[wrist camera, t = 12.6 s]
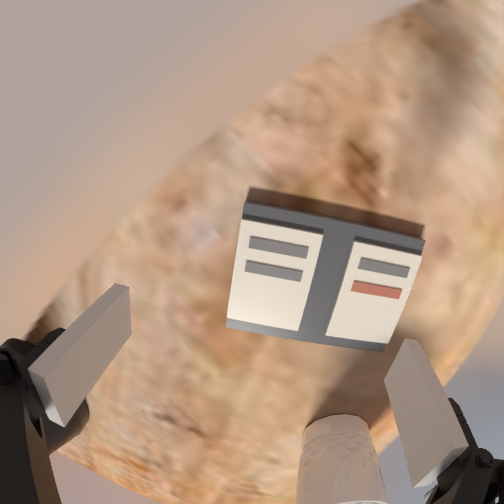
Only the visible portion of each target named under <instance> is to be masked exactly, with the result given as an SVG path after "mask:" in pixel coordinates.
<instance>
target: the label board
mask: <svg viewBox="0 0 504 504" xmlns="http://www.w3.org/2000/svg"><path fill="white" fill-rule="evenodd" d="M424 244H425V240H423V239H422V238H421V237H417V236H413V235H409V234H405V233H401V232H397V231H393V230H389V229H385V228H380V227H376V226H372V225H367V224H363V223H358V222H354V221H349V220H345V219H340V218H336V217H331V216H326V215H321V214H317V213H312V212H307V211H302V210H297V209H292V208H286V207H281V206H276V205H270V204H265V203H260V202H254V201H248V200H246V201H245V202H244V209H243V215H242V219H241V225H240V231H239V238H238V244H237V251H236V257H235V264H234V271H233V277H232V284H231V291H230V298H229V305H228V312H227V322H226V327H229V328H234V329H238V330H243V331H249V332H254V333H259V334H264V335H270V336H275V337H281V338H287V339H293V340H299V341H305V342H312V343H318V344H325V345H332V346H339V347H347V348H355V349H363V350H371V351H381V352H382V351H383V349H384V347H385V345H386V344H388V343H389V341H390V339H391V336H392V334H393V332H394V330H395V327H396V325H397V323H398V320H399V318H400V316H401V313H402V311H403V308H404V306H405V303H406V301H407V298H408V296H409V293H410V291H411V288H412V285H413V283H414V280H415V277H416V274H417V271H418V269H419V266H420V263H421V260H422V256H421V253H422V250H423V247H424Z"/></svg>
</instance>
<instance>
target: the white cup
mask: <svg viewBox="0 0 504 504" xmlns="http://www.w3.org/2000/svg"><path fill="white" fill-rule="evenodd" d="M295 504H388V499H387V495H386V490H385V486H384V481H383V477H382V473H381V468H380V465H379V460H378V457H377V453H376V450H375V446H374V445H373V443H372V439H371V436H370V432H369V428H368V424H367V422H366V421H364V420H363V419H362V418H360V417H359V416H354V415H349V414H340V415H330V416H327V417H324V418H322V419H319V420H316V421H315V422H313V423H312V424H311V425H309V426H308V427H307V428H306V429H305V431H304V434H303V436H302V446H301V455H300V461H299V471H298V481H297V492H296V503H295Z"/></svg>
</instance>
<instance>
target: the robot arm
mask: <svg viewBox="0 0 504 504" xmlns="http://www.w3.org/2000/svg"><path fill="white" fill-rule="evenodd" d="M130 335H131V319H130V298H129V287H127V286H124V285H120V284H116V283H115V284H114V285H113V286H112V287H111V288H110V289H109V290H107V291H106V292H105V293H104V294H103V295H102V296H101V297H100V298H99V299H98V300H97V301H96V302H94V303H93V304H92V305H91V306H90V307H89V308H88V309H87V310H86V311H85V312H84V313H83V314H82V315H81V316H80V317H79V318H78V319H77V320H76V321H74V322H73V323H72V324H71V325H70V326H69V327H68V328H67V329H66V330H65V329H63V328H58V329H56V330H54V331H51V332H50V333H49V334H47V335H46V336H45V337H44V338H43V339H42V341H40V342H39V343H38V344H37V346H35V347H34V346H32V345H31V344H29V343H27V342H25V341H23V340H20V339H15V338H11V339H8V340H7V341H6V342H4V343H3V344H2V345H1V346H0V504H62V503H61V500H60V497H59V493H58V490H57V487H56V483H55V479H54V475H53V471H52V467H51V463H50V458H49V455H50V454H51V453H52V452H54V451H56V450H57V449H59V448H60V447H61V446H63V445H64V444H66V443H67V442H69V441H70V440H71V439H73V438H74V437H76V436H77V435H79V434H80V433H81V431H82V430H83V428H84V427H85V425H86V423H87V422H88V420H89V412H88V408H87V406H86V403H85V401H84V399H85V397H86V396H87V394H88V393H89V392H90V390H91V389H92V387H93V386H94V385H95V383H96V382H97V380H98V379H99V378H100V376H101V375H102V373H103V372H104V371H105V369H106V368H107V366H108V365H109V364H110V362H111V361H112V360H113V358H114V357H115V355H116V354H117V353H118V351H119V350H120V349H121V347H122V346H123V345H124V343H125V342H126V341H127V339H128V338H129V337H130ZM384 384H385V387H386V390H387V393H388V396H389V400H390V403H391V406H392V410H393V413H394V417H395V420H396V424H397V427H398V431H399V434H400V438H401V442H402V446H403V449H404V453H405V457H406V461H407V465H408V469H409V474H410V478H411V483H412V487H413V488H415V487H421V486H427V485H429V484H430V483H431V482H433V481H434V480H435V479H436V478H437V481H438V484H437V485H436V486H435V487H434V488H433V489H431V490H430V491H429V492H428V493H426V495H425V496H424V498H426V497H427V496H428V495H430V494H431V495H430V497H429V498H428V500H427V502H426V504H495V499H496V498H497V497H498V496H499V502H498V503H496V504H504V460H500V459H494V458H493V456H492V455H491V453H490V452H489V451H487V450H486V449H483V448H478V446H477V444H476V442H475V439H474V437H473V435H472V433H471V430H470V428H469V426H468V424H467V423H466V422H467V421H466V419H465V417H464V416H463V413H462V411H461V409H460V406H459V405H458V404H457V403H456V402H455V401H454V400H453V399H452V398H447V395H446V394H445V391H444V389H443V387H442V385H441V383H440V381H439V379H438V377H437V375H436V373H435V371H434V369H433V367H432V365H431V363H430V362H429V360H428V358H427V356H426V354H425V352H424V350H423V348H422V347H421V345H420V343H419V341H418V340H416V339H407V338H405V339H404V341H403V343H402V345H401V347H400V350H399V352H398V354H397V356H396V358H395V360H394V361H393V363H392V365H391V367H390V369H389V371H388V373H387V375H386V377H385V378H384Z"/></svg>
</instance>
